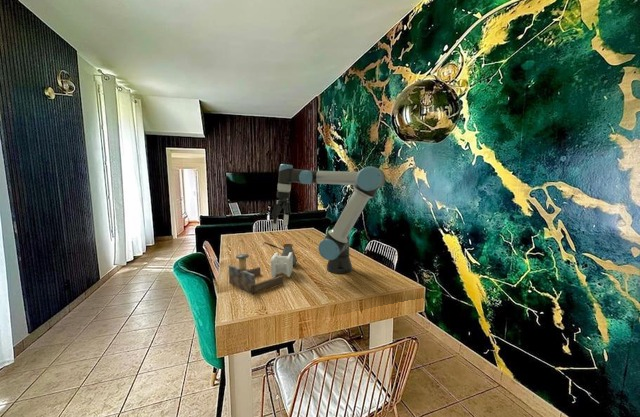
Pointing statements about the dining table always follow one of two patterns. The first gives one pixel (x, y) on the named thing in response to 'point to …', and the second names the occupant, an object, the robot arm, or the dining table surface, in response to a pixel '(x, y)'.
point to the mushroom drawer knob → (242, 261)
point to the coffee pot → (286, 250)
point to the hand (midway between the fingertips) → (280, 227)
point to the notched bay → (251, 280)
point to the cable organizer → (281, 264)
